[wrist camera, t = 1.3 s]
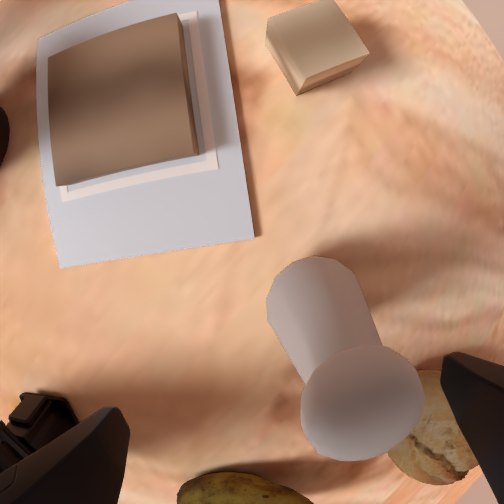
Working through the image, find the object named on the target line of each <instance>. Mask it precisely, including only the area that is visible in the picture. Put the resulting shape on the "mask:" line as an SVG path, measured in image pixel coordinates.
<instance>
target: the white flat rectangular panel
mask: <svg viewBox="0 0 504 504" xmlns="http://www.w3.org/2000/svg"><path fill="white" fill-rule="evenodd" d="M173 13H177V15H178V17H179V19H180V21H181V23H182V25H183V32H184V41H185V49H186V58H187V66H188V74H189V82H190V90H191V98H192V105H193V113H194V120H195V127H196V134H197V141H198V148H199V155H198V156H193V157H187V158H182V159H177V160H172V161H167V162H162V163H157V164H153V165H148V166H144V167H139V168H135V169H131V170H126V171H122V172H118V173H114V174H110V175H106V176H102V177H99V178H95V179H91V180H87V181H84V182H80V183H77V184H73V185H66V186H56V183H55V176H54V169H53V160H52V151H51V141H50V128H49V112H48V57H50V56H52V55H54V54H57V53H59V52H61V51H63V50H65V49H68V48H70V47H72V46H75V45H77V44H80V43H82V42H84V41H87V40H89V39H92V38H95V37H97V36H100V35H103V34H105V33H108V32H111V31H114V30H117V29H120V28H123V27H126V26H129V25H132V24H136V23H139V22H142V21H146V20H149V19H153V18H157V17H161V16H165V15H169V14H173ZM36 107H37V128H38V142H39V153H40V162H41V171H42V178H43V185H44V192H45V198H46V205H47V210H48V216H49V221H50V226H51V231H52V236H53V240H54V245H55V249H56V254H57V258H58V262H59V266H60V268H66V267H72V266H78V265H85V264H91V263H97V262H104V261H110V260H116V259H123V258H129V257H136V256H142V255H149V254H155V253H162V252H169V251H175V250H182V249H189V248H195V247H202V246H209V245H216V244H223V243H229V242H236V241H243V240H250V239H255V237H254V230H253V223H252V217H251V210H250V203H249V196H248V189H247V183H246V176H245V169H244V163H243V156H242V149H241V143H240V136H239V129H238V123H237V116H236V109H235V103H234V96H233V90H232V83H231V77H230V70H229V63H228V57H227V50H226V44H225V37H224V31H223V24H222V18H221V12H220V5H219V0H131V1H128V2H125V3H122V4H119V5H116V6H113V7H111V8H108V9H105V10H102V11H100V12H97V13H95V14H92V15H90V16H87V17H85V18H82V19H80V20H78V21H75V22H73V23H71V24H68V25H66V26H64V27H62V28H60V29H58V30H56V31H54V32H51V33H49V34H47V35H45V36H44V37H42V38H40V39H38V43H37V63H36Z"/></svg>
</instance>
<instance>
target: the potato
mask: <svg viewBox="0 0 504 504" xmlns="http://www.w3.org/2000/svg"><path fill="white" fill-rule="evenodd" d="M177 496H178V497H177V504H314V503H313V502H311V501H310V500H309V499H308V498H306V497H304V496H303V495H301V494H299V493H297V492H296V491H295V490H293V489H291V488H288V487H285V486H281V485H275V484H273V483H271V482H269V481H267V480H266V479H264V478H261V477H259V476H256V475H253V474H247V473H237V472H222V473H213V474H208V475H204V476H201V477H197V478H194V479H191V480H189V481H187V482H186V483H184V484H183V485H182V486H181V488H180V490H179V492H178V494H177Z"/></svg>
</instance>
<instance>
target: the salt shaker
mask: <svg viewBox="0 0 504 504" xmlns="http://www.w3.org/2000/svg"><path fill="white" fill-rule="evenodd" d="M266 303H267V320H268V322H269V324H270V326H271V327H272V329H273V331H274V332H275V334H276V336H277V338H278V339H279V341H280V343H281V344H282V346H283V348H284V349H285V351H286V353H287V355H288V356H289V358H290V360H291V361H292V363H293V365H294V366H295V368H296V370H297V371H298V373H299V375H300V377H301V378H302V380H303V382H304V383H305V387H304V389H303V391H302V394H301V413H300V416H301V428H302V430H303V432H304V434H305V436H306V438H307V440H308V441H309V443H310V444H311V445H312V446H313V447H314V449H315V450H316V451H317V452H318V453H319V454H321V455H324V456H327V457H330V458H332V459H335V460H339V461H359V460H367V459H370V458H373V457H375V456H378V455H381V454H384V453H386V452H388V451H389V450H391V449H392V448H394V447H395V446H396V445H398V444H399V443H401V442H402V441H404V439H405V438H406V437H407V436H408V435H409V434H410V432H411V431H412V430H413V429H414V427H415V426H416V425H417V423H418V421H419V419H420V417H421V414H422V410H423V407H424V403H425V399H426V398H425V394H424V391H423V387H422V384H421V381H420V378H419V376H418V373H417V371H416V369H415V367H414V366H413V365H412V364H411V363H410V362H409V361H408V359H406V358H405V357H403V356H401V355H400V354H398V353H397V352H395V351H394V350H392V349H390V348H388V347H386V346H383V345H382V343H381V340H380V337H379V335H378V332H377V329H376V327H375V324H374V321H373V319H372V316H371V314H370V311H369V309H368V306H367V303H366V300H365V297H364V294H363V292H362V289H361V287H360V285H359V283H358V280H357V278H356V276H355V274H354V272H352V271H351V270H350V269H348V268H347V267H346V266H344V265H343V264H341V263H340V262H339V261H337V260H335V259H331V258H324V257H318V256H311V257H308V258H304V259H301V260H298V261H295V262H292V263H291V264H290V265H289V266H287V267H286V268H285V269H284V270H283V271H281V272H280V273H279V274H278V275H277V276H276V277H275V279H274V281H273V284H272V286H271V289H270V291H269V293H268V296H267V299H266Z"/></svg>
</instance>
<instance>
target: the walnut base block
mask: <svg viewBox="0 0 504 504" xmlns="http://www.w3.org/2000/svg"><path fill="white" fill-rule="evenodd" d="M48 112H49V128H50V141H51V151H52V160H53V169H54V176H55V183H56V186H66V185H73V184H77V183H80V182H84V181H87V180H91V179H95V178H99V177H102V176H106V175H110V174H114V173H118V172H122V171H126V170H131V169H135V168H139V167H144V166H148V165H153V164H157V163H162V162H167V161H172V160H177V159H182V158H187V157H193V156H198V155H199V148H198V141H197V134H196V127H195V120H194V113H193V105H192V98H191V90H190V82H189V74H188V66H187V58H186V49H185V41H184V32H183V25H182V23H181V21H180V19H179V17H178V15H177V13H173V14H169V15H165V16H161V17H157V18H153V19H149V20H146V21H142V22H139V23H136V24H132V25H129V26H126V27H123V28H120V29H117V30H114V31H111V32H108V33H105V34H103V35H100V36H97V37H95V38H92V39H89V40H87V41H84V42H82V43H80V44H77V45H75V46H72V47H70V48H68V49H65V50H63V51H61V52H59V53H57V54H54V55H52V56H50V57H48Z"/></svg>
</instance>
